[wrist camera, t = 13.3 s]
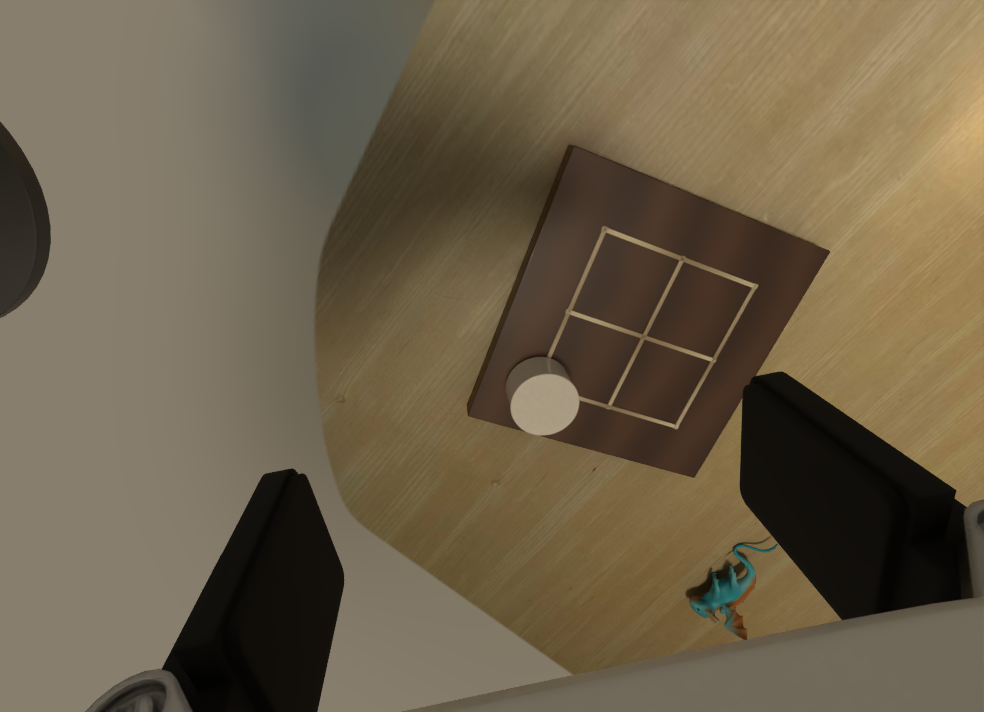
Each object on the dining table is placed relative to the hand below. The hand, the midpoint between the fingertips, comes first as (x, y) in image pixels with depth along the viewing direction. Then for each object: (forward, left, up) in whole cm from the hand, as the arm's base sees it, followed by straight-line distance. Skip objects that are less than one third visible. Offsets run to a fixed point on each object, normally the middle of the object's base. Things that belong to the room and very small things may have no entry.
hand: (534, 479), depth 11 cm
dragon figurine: (+34, -22, -26) cm, 48 cm away
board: (+14, -2, -26) cm, 30 cm away
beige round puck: (+8, -8, -25) cm, 27 cm away
